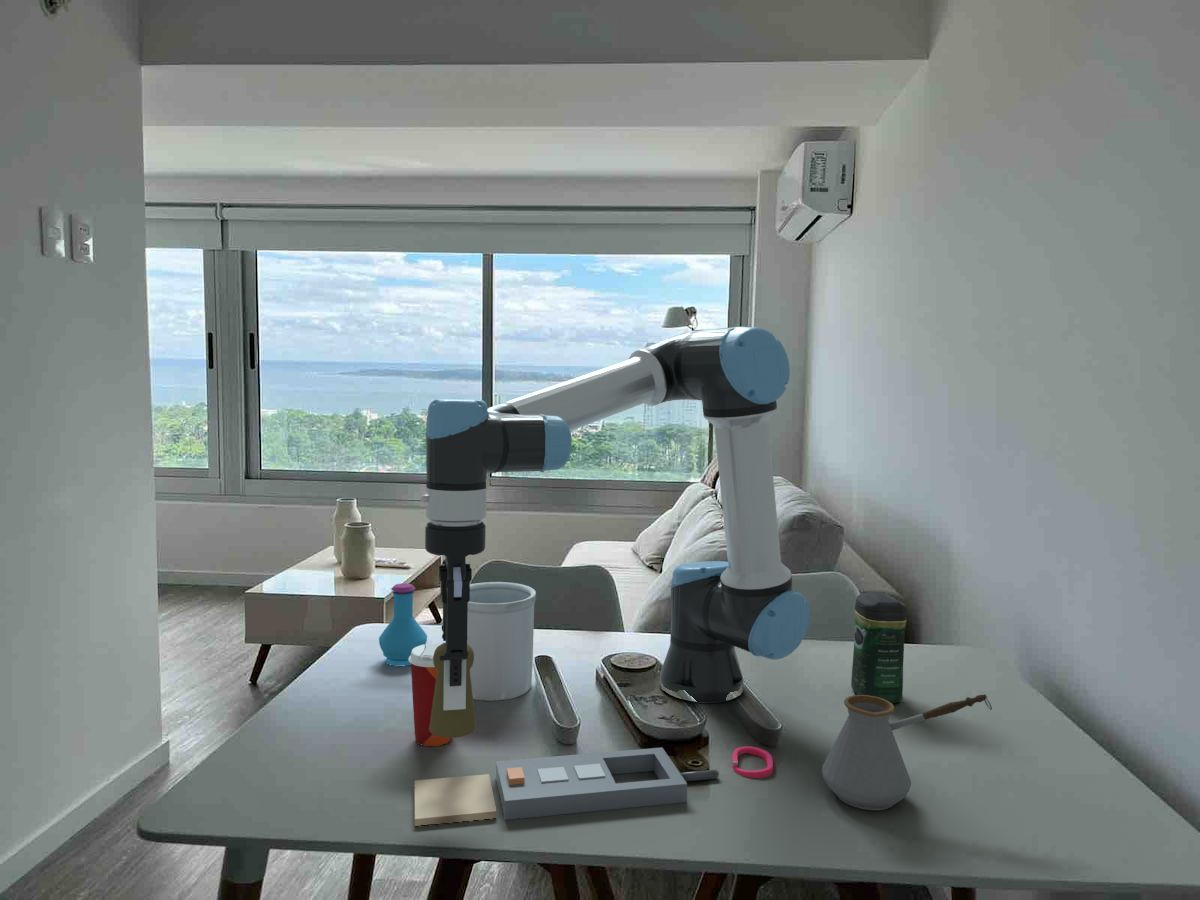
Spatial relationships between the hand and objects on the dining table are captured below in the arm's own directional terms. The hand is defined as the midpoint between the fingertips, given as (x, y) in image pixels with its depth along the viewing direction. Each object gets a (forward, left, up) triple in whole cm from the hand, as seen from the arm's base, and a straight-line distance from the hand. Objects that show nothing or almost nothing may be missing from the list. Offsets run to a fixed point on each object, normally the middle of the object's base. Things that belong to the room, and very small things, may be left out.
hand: (453, 699), depth 105 cm
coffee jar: (-76, -24, -14) cm, 81 cm away
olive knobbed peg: (0, 0, -4) cm, 4 cm away
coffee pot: (-59, +10, -14) cm, 62 cm away
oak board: (0, 0, -14) cm, 14 cm away
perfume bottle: (+7, -57, -14) cm, 59 cm away
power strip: (-21, 0, -14) cm, 26 cm away
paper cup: (+2, -20, -14) cm, 25 cm away
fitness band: (-43, -3, -14) cm, 46 cm away
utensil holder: (-9, -40, -14) cm, 43 cm away
